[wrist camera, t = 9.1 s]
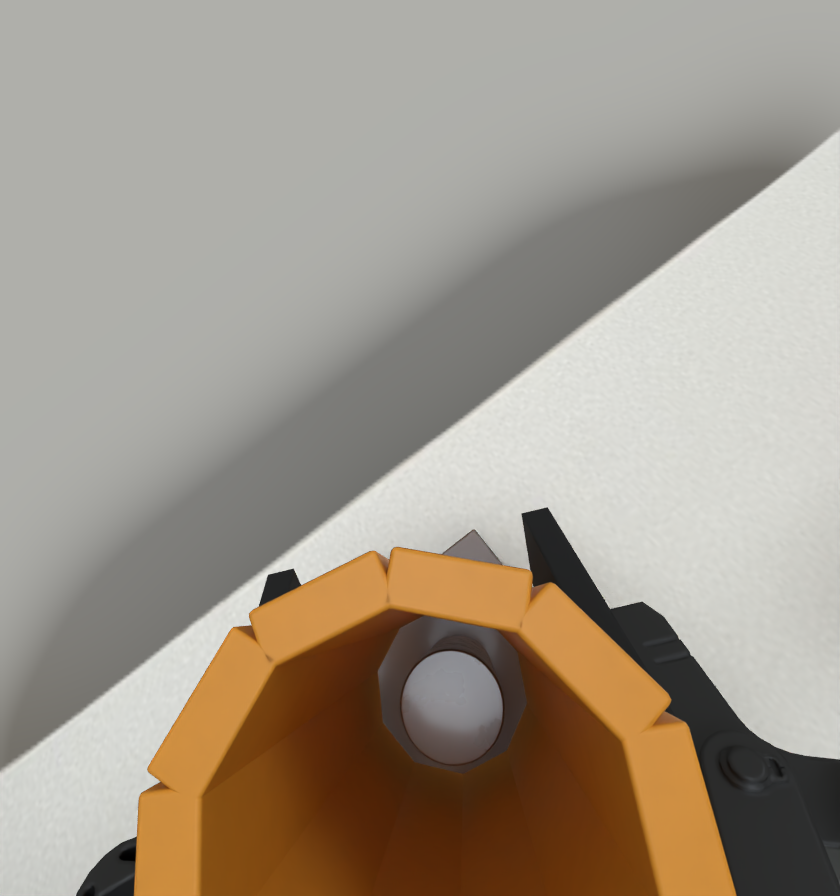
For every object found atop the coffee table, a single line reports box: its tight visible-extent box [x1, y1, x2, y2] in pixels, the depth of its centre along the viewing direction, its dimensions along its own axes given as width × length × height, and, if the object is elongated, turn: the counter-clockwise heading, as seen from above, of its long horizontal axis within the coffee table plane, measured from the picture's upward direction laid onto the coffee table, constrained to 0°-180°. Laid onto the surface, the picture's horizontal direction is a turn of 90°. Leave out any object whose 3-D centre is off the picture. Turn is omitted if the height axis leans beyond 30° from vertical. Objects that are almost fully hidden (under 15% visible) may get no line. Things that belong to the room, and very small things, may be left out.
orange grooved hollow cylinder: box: [134, 547, 737, 896], centre depth 11 cm, size 7×7×12 cm
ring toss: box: [378, 530, 527, 774], centre depth 18 cm, size 9×9×9 cm
